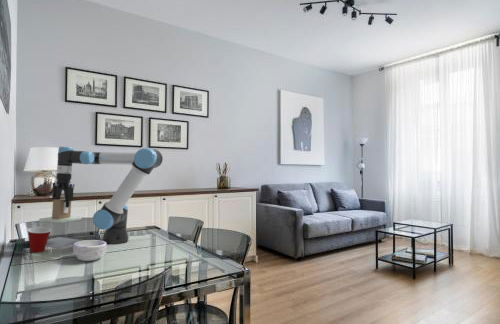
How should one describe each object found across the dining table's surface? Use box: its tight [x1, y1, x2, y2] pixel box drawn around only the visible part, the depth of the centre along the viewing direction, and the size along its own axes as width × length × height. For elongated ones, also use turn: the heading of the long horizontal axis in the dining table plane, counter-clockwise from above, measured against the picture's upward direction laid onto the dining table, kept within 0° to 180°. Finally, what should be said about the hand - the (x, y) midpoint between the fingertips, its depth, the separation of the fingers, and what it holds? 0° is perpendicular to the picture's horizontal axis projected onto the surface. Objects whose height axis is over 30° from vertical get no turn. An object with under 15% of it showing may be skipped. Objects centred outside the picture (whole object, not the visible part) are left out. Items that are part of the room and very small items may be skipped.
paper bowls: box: [72, 239, 108, 262], centre depth 157 cm, size 15×15×8 cm
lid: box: [38, 197, 82, 224], centre depth 181 cm, size 15×15×12 cm
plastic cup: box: [26, 226, 53, 253], centre depth 162 cm, size 11×11×12 cm
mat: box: [45, 236, 84, 249], centre depth 180 cm, size 20×20×1 cm
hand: (61, 212), depth 181 cm, fingers closed on lid, 5 cm apart
